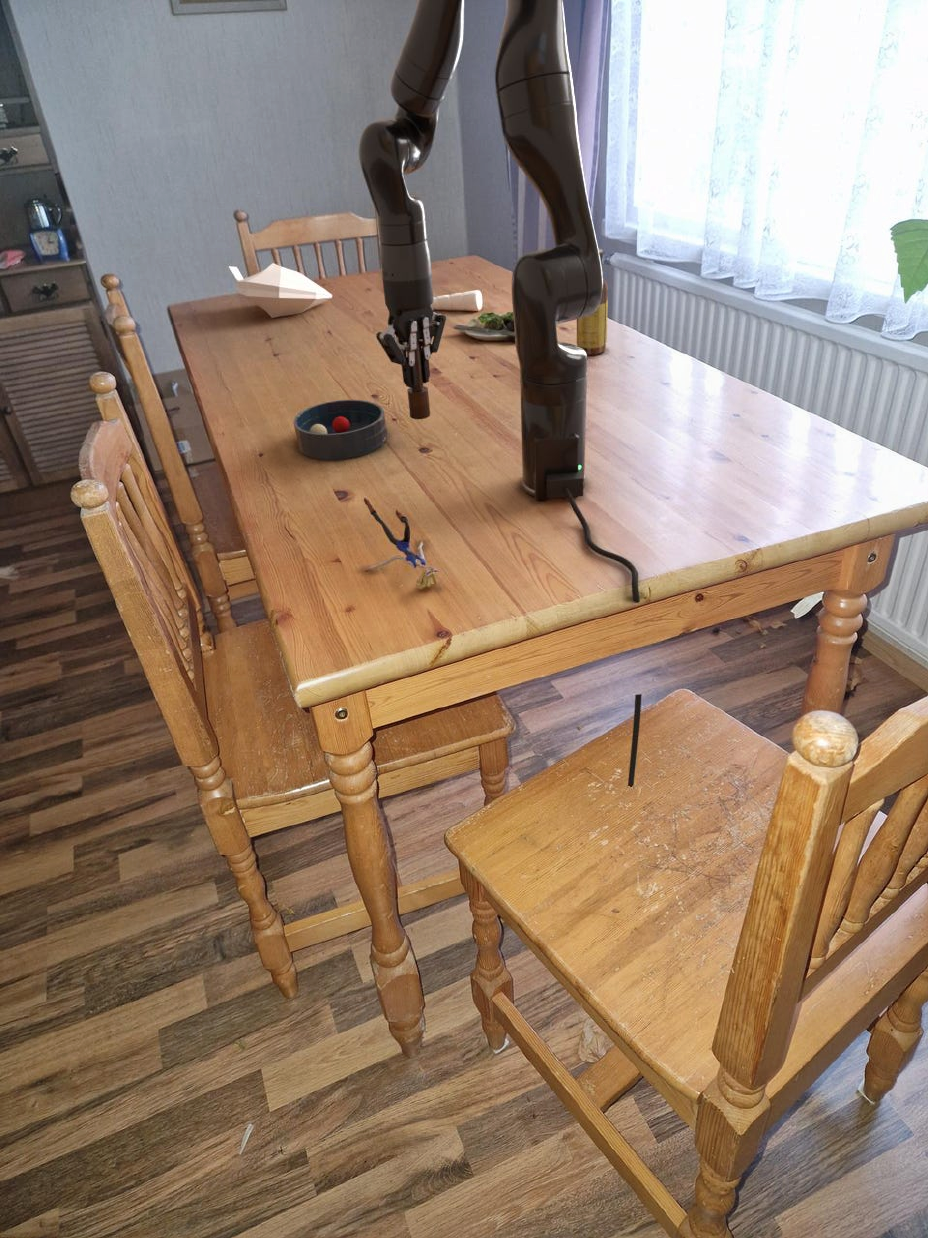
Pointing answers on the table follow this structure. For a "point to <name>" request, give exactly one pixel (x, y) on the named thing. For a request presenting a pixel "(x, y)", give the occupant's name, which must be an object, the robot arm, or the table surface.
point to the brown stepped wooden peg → (418, 392)
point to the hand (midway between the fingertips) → (417, 383)
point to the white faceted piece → (280, 290)
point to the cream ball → (318, 429)
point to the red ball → (340, 425)
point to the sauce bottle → (594, 325)
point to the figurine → (405, 550)
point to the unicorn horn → (459, 301)
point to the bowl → (355, 442)
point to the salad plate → (490, 327)
